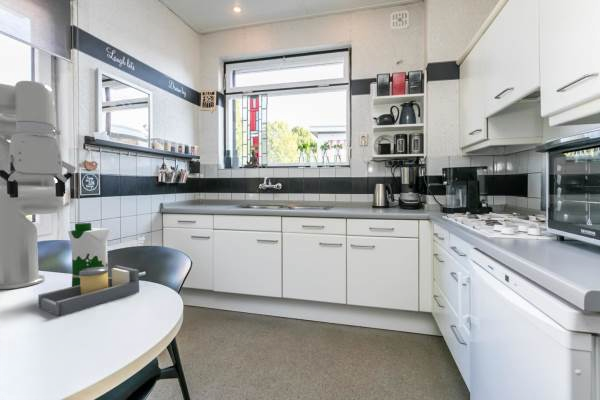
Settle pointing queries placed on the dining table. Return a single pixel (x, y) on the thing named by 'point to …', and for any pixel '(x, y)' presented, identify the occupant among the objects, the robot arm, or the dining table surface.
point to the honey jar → (93, 279)
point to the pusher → (121, 276)
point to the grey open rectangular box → (87, 295)
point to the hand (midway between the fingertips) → (38, 197)
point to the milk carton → (88, 249)
